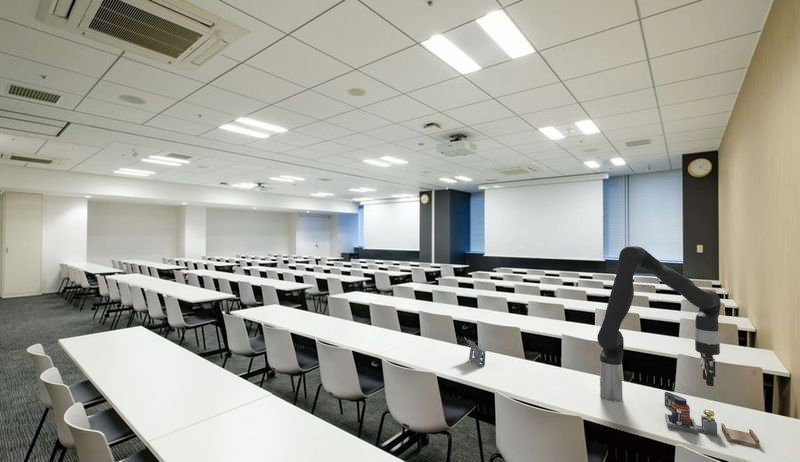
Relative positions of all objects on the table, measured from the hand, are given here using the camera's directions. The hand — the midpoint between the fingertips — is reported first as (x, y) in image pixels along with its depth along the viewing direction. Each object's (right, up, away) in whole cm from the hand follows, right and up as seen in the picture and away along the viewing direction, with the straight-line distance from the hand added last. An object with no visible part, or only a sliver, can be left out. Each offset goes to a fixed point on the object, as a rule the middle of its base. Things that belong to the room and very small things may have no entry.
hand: (708, 382), depth 143 cm
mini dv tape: (+2, -20, +19) cm, 28 cm away
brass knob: (0, -18, 0) cm, 18 cm away
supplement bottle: (-8, -20, +4) cm, 22 cm away
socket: (-5, -20, +3) cm, 20 cm away
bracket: (-76, -22, +80) cm, 112 cm away
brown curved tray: (+8, -20, -5) cm, 22 cm away
